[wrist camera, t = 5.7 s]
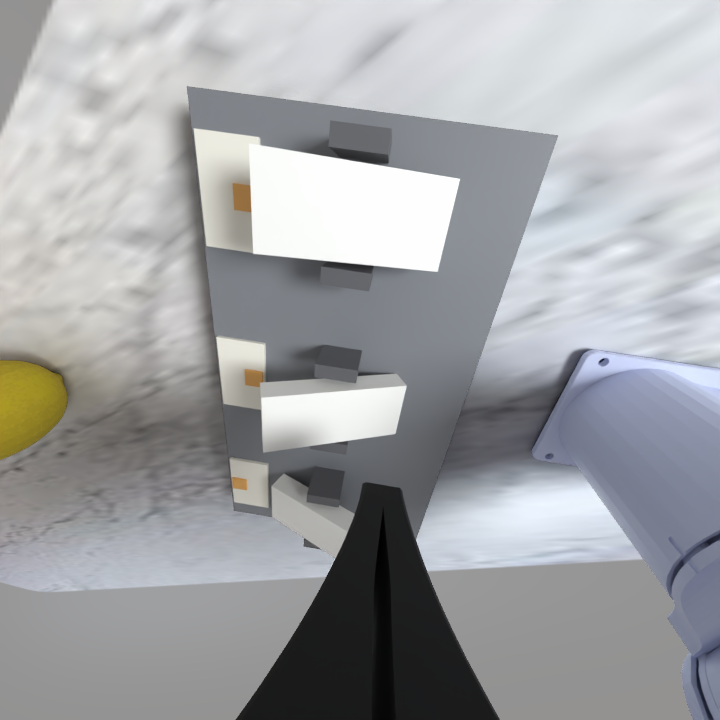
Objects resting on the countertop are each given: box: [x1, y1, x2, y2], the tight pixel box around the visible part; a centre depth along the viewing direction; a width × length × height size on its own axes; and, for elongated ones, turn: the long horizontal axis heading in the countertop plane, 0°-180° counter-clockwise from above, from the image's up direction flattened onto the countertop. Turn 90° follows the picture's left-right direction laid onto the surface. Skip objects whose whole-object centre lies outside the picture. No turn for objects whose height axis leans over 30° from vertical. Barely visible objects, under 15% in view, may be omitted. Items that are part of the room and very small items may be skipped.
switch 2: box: [272, 474, 355, 558], centre depth 19 cm, size 7×3×1 cm, turn 82°
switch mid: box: [260, 374, 407, 453], centre depth 15 cm, size 7×3×1 cm, turn 83°
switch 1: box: [249, 143, 460, 272], centre depth 11 cm, size 7×3×1 cm, turn 83°
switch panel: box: [187, 86, 558, 549], centre depth 17 cm, size 14×25×4 cm, turn 173°
